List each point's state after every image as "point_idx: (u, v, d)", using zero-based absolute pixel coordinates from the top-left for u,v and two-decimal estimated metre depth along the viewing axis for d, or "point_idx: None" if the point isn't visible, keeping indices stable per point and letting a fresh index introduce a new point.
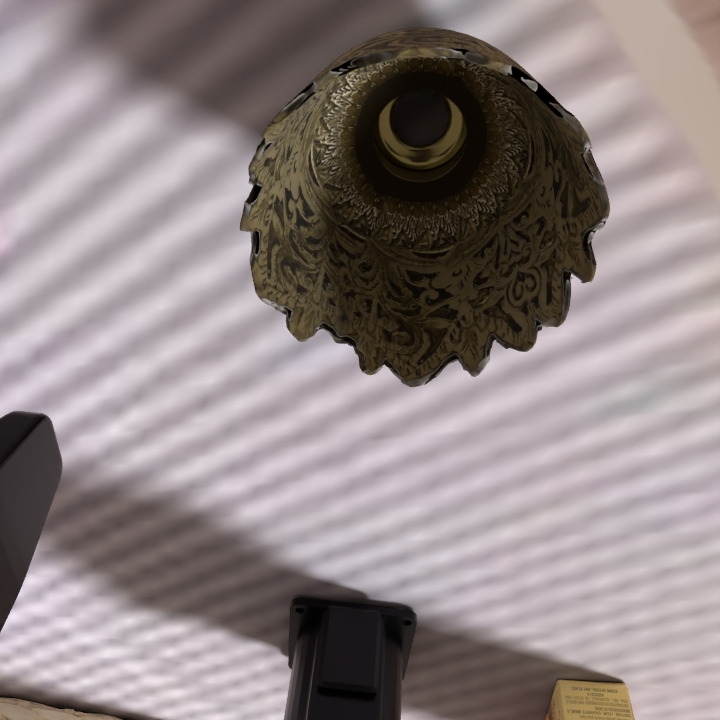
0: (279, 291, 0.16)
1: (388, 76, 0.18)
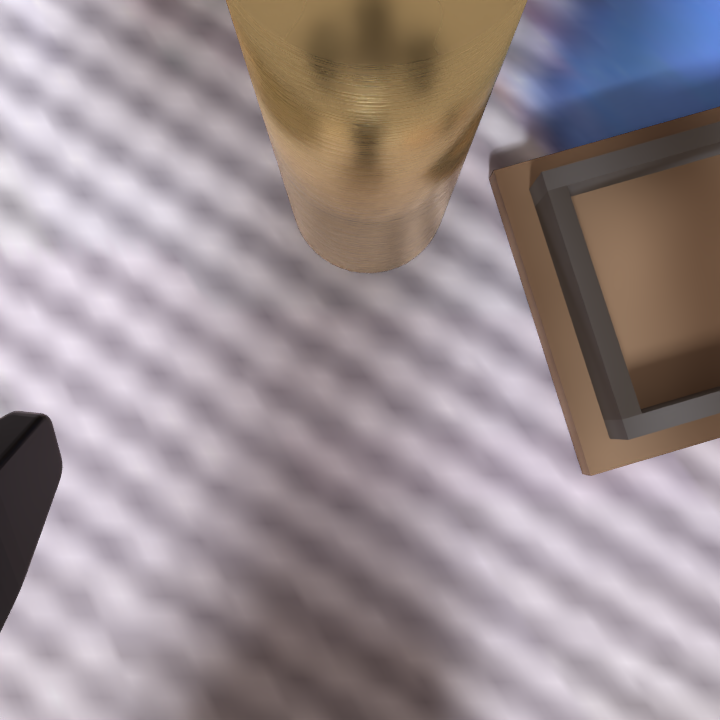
0: None
1: None
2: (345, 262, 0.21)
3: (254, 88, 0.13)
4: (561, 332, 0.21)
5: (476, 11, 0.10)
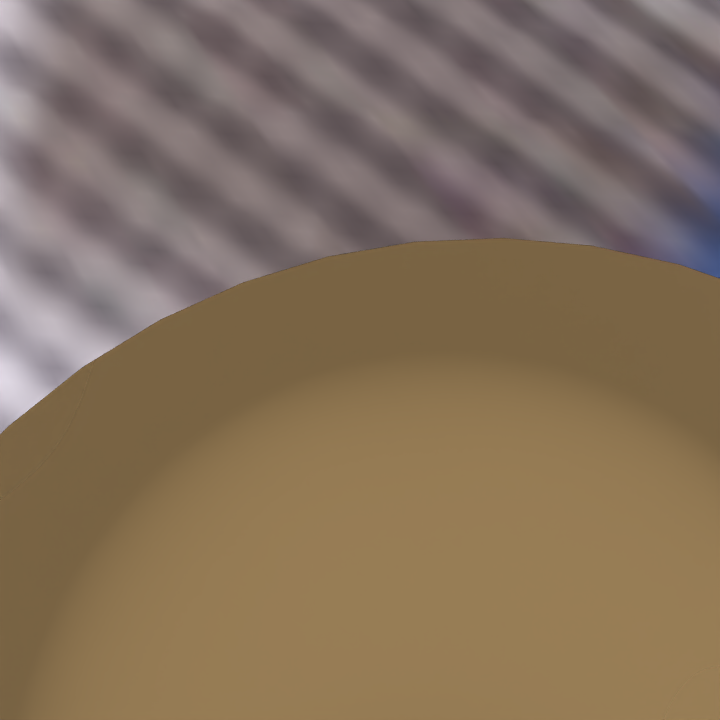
0: None
1: None
2: None
3: None
4: None
5: None
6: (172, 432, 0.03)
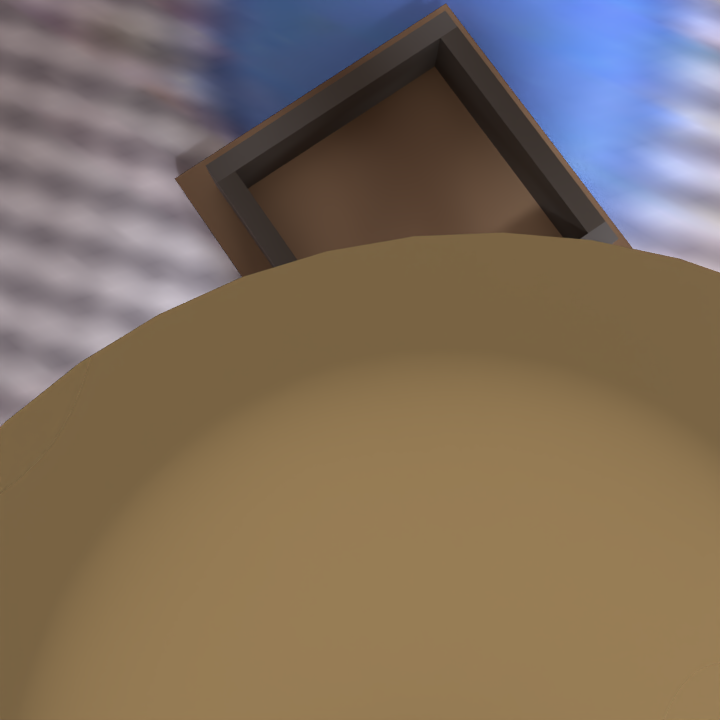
0: None
1: None
2: None
3: None
4: None
5: None
6: (171, 427, 0.02)
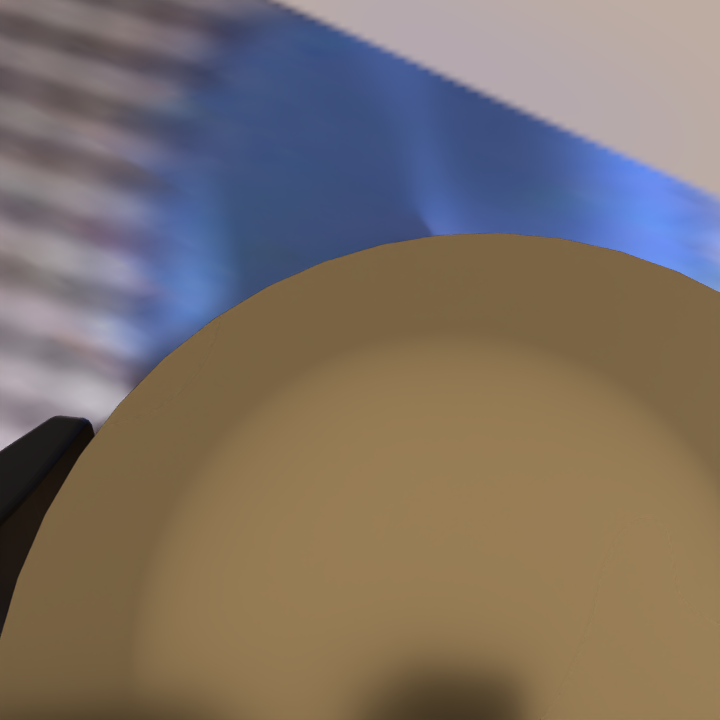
0: None
1: None
2: None
3: None
4: None
5: None
6: (275, 363, 0.04)
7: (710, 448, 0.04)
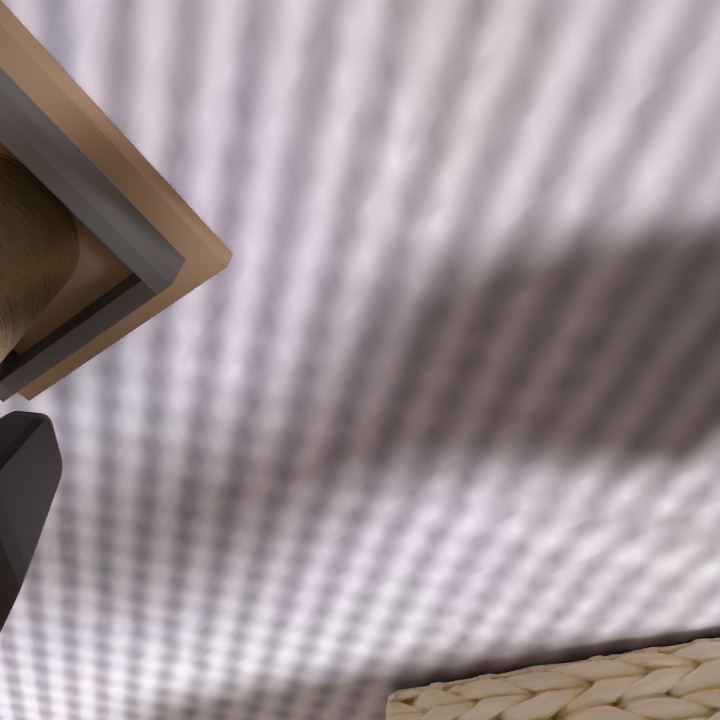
0: None
1: None
2: (65, 267, 0.20)
3: None
4: (119, 322, 0.23)
5: None
6: None
7: None
